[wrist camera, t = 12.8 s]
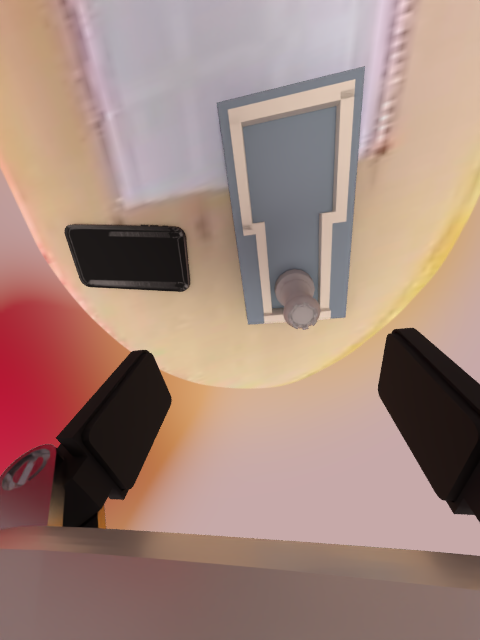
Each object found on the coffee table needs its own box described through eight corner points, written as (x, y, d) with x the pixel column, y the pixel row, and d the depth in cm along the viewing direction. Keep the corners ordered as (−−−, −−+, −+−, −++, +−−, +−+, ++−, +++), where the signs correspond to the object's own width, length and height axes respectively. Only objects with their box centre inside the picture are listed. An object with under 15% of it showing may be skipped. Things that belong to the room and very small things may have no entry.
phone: (189, 292, 28) (82, 286, 30) (191, 289, 29) (88, 284, 31) (182, 226, 25) (61, 223, 26) (185, 225, 26) (68, 223, 27)
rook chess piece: (293, 260, 24) (304, 281, 17) (321, 285, 25) (342, 315, 18) (266, 288, 26) (265, 318, 19) (293, 311, 27) (302, 347, 20)
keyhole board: (220, 109, 20) (211, 91, 17) (357, 76, 18) (375, 50, 15) (249, 319, 30) (246, 332, 27) (341, 312, 28) (350, 325, 25)
